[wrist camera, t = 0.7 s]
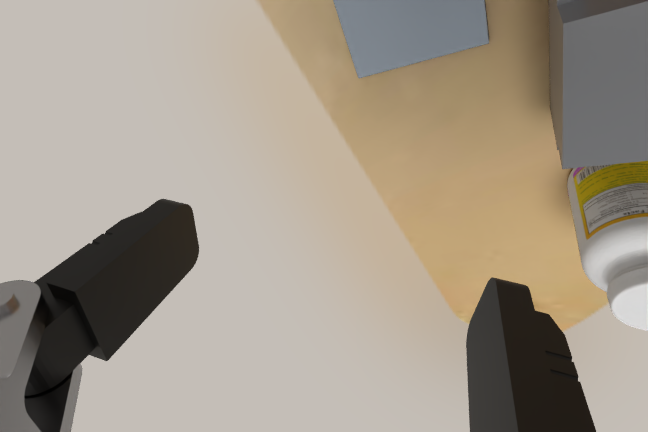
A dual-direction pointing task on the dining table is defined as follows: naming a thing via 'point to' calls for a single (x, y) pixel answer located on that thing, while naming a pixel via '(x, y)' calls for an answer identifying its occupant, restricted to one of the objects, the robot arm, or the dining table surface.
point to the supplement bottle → (614, 234)
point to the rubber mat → (409, 30)
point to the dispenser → (599, 81)
